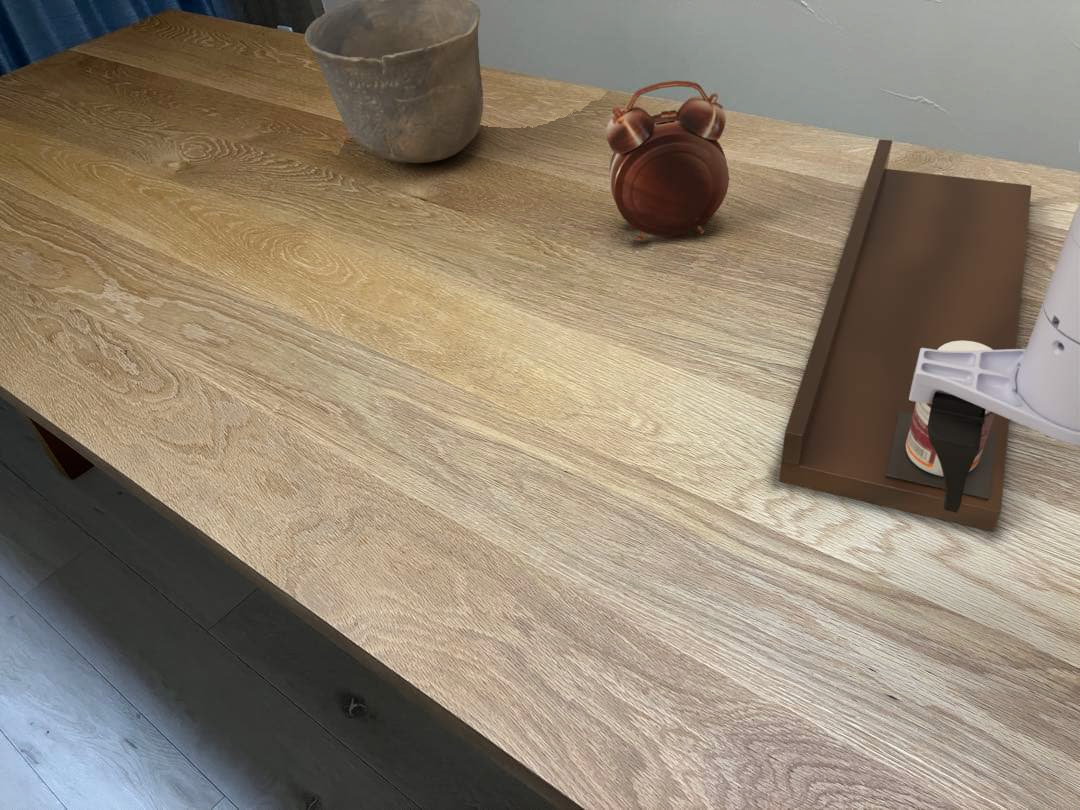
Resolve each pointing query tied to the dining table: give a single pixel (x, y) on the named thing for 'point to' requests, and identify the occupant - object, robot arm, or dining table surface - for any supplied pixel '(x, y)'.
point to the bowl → (403, 74)
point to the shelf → (908, 336)
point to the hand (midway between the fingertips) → (1029, 515)
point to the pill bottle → (918, 431)
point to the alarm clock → (668, 163)
